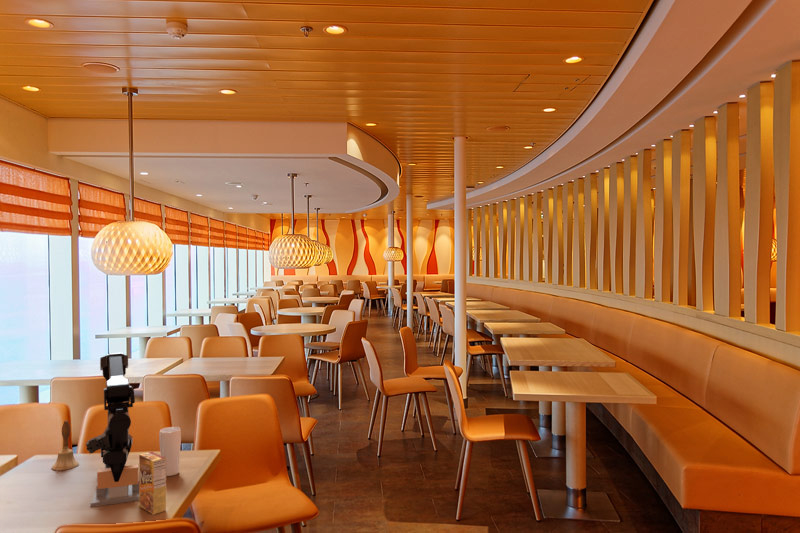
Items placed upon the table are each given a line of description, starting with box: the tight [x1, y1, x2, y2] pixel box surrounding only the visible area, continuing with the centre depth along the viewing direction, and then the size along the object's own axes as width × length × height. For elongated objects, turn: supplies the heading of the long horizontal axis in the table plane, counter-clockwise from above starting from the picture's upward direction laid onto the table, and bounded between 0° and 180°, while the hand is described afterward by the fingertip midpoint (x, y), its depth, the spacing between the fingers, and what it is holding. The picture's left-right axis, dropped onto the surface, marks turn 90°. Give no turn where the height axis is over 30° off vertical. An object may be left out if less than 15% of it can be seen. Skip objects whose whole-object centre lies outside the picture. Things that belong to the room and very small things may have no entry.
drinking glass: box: [158, 426, 182, 477], centre depth 193 cm, size 7×7×15 cm
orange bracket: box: [96, 464, 139, 489], centre depth 175 cm, size 8×11×5 cm
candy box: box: [138, 451, 167, 516], centre depth 165 cm, size 9×4×15 cm, turn 50°
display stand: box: [90, 482, 139, 508], centre depth 175 cm, size 12×14×4 cm
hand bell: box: [51, 420, 80, 471], centre depth 200 cm, size 8×8×16 cm
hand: (118, 476), depth 173 cm, fingers open, 9 cm apart
